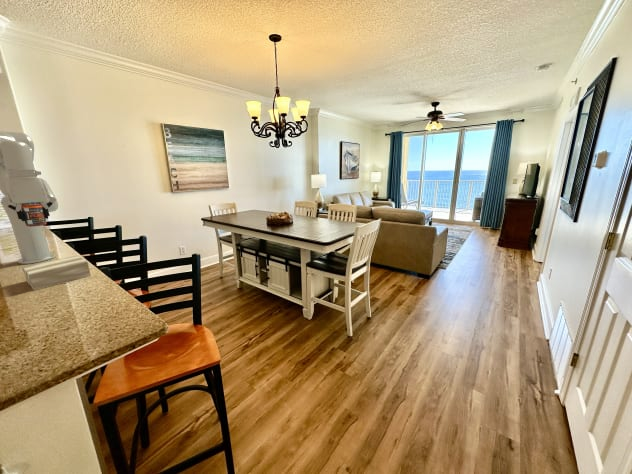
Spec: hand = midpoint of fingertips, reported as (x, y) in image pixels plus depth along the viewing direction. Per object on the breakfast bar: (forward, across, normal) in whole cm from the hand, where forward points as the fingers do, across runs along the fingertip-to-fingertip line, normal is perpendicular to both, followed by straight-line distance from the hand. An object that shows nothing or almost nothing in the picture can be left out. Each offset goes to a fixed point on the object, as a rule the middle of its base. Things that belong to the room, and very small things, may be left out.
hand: (35, 219), depth 106 cm
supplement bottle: (+3, 0, 0) cm, 3 cm away
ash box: (+22, 0, +16) cm, 28 cm away
